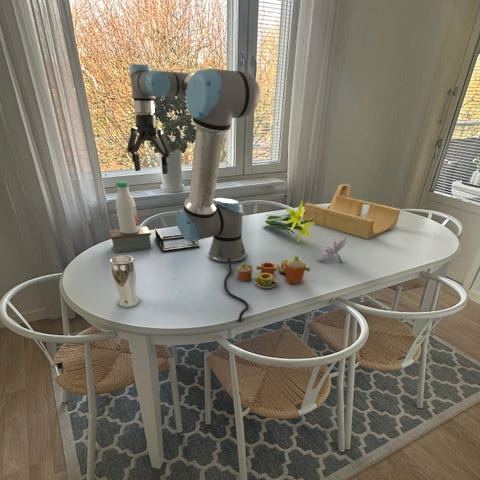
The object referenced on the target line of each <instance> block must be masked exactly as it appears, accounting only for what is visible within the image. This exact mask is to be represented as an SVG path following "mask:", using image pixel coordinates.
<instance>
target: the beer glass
mask: <svg viewBox="0 0 480 480" xmlns="http://www.w3.org/2000/svg"><path fill="white" fill-rule="evenodd" d="M109 262H110V263H109V264H110V272H111V275H112V279H113V282H114V285H115V288H116V290H117V293H118V304H119V306H120V307H123V308H132V307H134V306H137V305H138V304H139V302H140V301H139V297H138V295H137V289H136V287H137V272H136V271H137V270H136V267H135V263H134V258H133V257H132V256H130V255H128V254H122V255H115V256H113V257H112V258H110V260H109Z"/></svg>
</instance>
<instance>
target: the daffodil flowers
mask: <svg viewBox="0 0 480 480" xmlns="http://www.w3.org/2000/svg"><path fill="white" fill-rule="evenodd" d="M303 201H304V200H301V201H300V203H299V205H298V207H297V210H296V211H295V210H293V209H291V208H285V210H286V212H287V213H286V214H266V215H265V216H266V219H265V220H264V222H265V224H267V225H264V226H263V225H262V227H263V229H279V230H281V231H285V232H287V233H288V235H289V237H290V238H291V233H292V234H294V235H296V233H295V232H294V231H293V230H295V231H298V233H297V243H299V241H300V239H301V236H302V235H304V236H305V237H311V233H310V230H308V228H309V227H311V226H313V225H315V224H316V223H315V222H313V223H312V222H310V221H312V220H313V219H309V220H307V221H306V220H303V221H302V217H303V214H304V213H306V212H305V209H304V202H303Z"/></svg>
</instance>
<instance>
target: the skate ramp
mask: <svg viewBox="0 0 480 480" xmlns="http://www.w3.org/2000/svg"><path fill="white" fill-rule="evenodd" d="M351 185H352V183H350V182H348V183H347V181H344V183H343V180H341V181H340V184H339V185H338V186H337V188H336V190H335V192H334V195H333V197H332V200H331V201H330V204H329V205H328V206H327V205H324V206H322V205H320V204H319V205H318V204H316V203H314V202H312V201H309V200H308V199H305V200H303V201H304V202H303V210H304V209H305V212H306V213H304V214H303V215H302V220H303V221H307V220H309V219H313V220H312V221H310V222H309V223H313V222H315V223H314V224H316V225H319V226H322V227H326V228H329V229H332V230H335V231H339V232H343V233H346V234H349V235H352V236H356V237H359V238H362V239H365V240H369V239H372V238H374V237H376V236H377V235H380V234H381V233H384V232H386V231H388V230H391V229H393V228H395V227H397V225H398V220H399V217H400V214H401V213H400V212H401V208H402V205H399V208H398V207H394V206H393V207H392V205H393V203H390V205H389V204H388V202H387V201H385V204H383V202H384V201H383V200H382V201H380V202H379V200H378V199H376V203H375V202H374V200H375V199H373V198H372V199H370V200H369V199H368V200H365V198H366V197H363V198H362V199H359V198H358V196H357V195H354V197H350V195H351V187H352V186H351ZM310 202H311V203H310ZM364 204H365V205H369V207H368V210H367V212H366V215H364V214H362V213H363V207H364ZM388 205H389V206H388ZM326 206H327V207H326Z"/></svg>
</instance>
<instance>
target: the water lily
mask: <svg viewBox="0 0 480 480" xmlns="http://www.w3.org/2000/svg"><path fill="white" fill-rule="evenodd" d="M347 238H348V235H346V236H345V237H344V238H343V239H339V241H338V240H337V239H334V241H333V246H325V247H324V249H322V251H323V252H322V254H323V255H321V256H320V257H321V259H319V262H322V261H324V260H327V259H330V258H331V257H332V256H335V255H336V256H337V257H338V260H339V262H340V263H343V260H342V258H341V256H340V254H339V253H338V252H339V251H341V250H342V249H343V248H344V247H345V245H346V244H347V242H348V241H347Z"/></svg>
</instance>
